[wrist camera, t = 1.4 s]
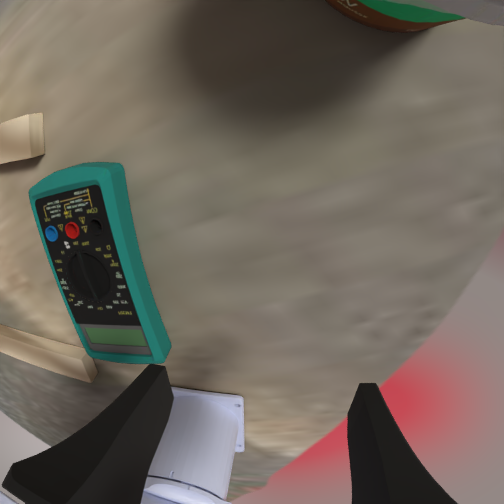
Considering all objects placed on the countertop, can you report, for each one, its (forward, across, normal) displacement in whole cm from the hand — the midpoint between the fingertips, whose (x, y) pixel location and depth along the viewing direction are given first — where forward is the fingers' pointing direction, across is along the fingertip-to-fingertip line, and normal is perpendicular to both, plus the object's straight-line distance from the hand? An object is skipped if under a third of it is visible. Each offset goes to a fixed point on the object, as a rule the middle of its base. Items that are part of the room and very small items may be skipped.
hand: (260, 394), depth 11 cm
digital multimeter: (+10, +12, +1) cm, 16 cm away
